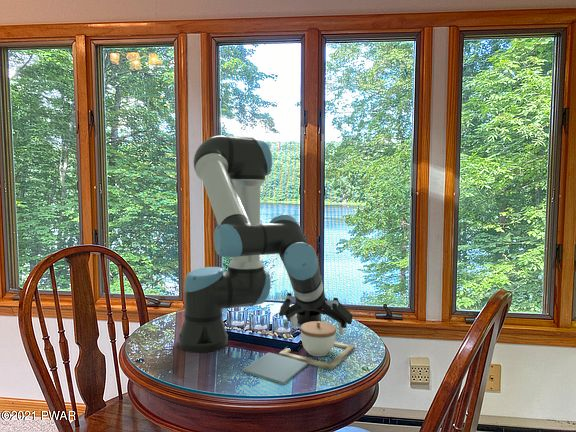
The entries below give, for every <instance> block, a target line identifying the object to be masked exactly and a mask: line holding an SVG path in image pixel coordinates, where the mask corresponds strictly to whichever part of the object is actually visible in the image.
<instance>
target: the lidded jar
mask: <svg viewBox="0 0 576 432" xmlns="http://www.w3.org/2000/svg"><path fill="white" fill-rule="evenodd" d="M336 333H337V328H336V326H335V325H333V324H332V323H329V322H326V321H321V322H320V321H312V322H306V323H304V324H300V338H301V341H302V344H301V345H302V347H303V348H304V350H305V351H306V352H307V354H309V355H310V356H314V357H323V356H327V355H328V353H329V352H330V351H331V350H332V349H333V348H334V346H333V345H334V342H336Z"/></svg>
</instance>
